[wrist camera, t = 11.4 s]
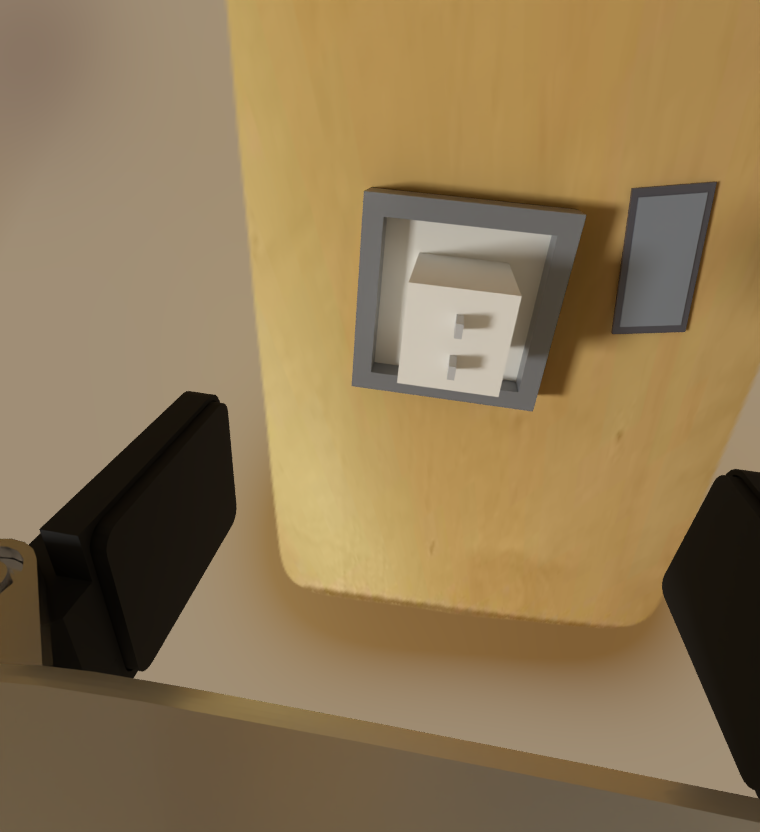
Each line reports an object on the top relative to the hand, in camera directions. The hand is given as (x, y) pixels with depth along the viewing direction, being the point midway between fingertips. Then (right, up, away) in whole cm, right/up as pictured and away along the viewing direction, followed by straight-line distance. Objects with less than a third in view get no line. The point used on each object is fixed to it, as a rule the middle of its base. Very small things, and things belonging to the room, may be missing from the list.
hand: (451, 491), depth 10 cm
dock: (+3, +8, +17) cm, 19 cm away
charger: (+3, +7, +16) cm, 18 cm away
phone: (+12, +9, +15) cm, 22 cm away
